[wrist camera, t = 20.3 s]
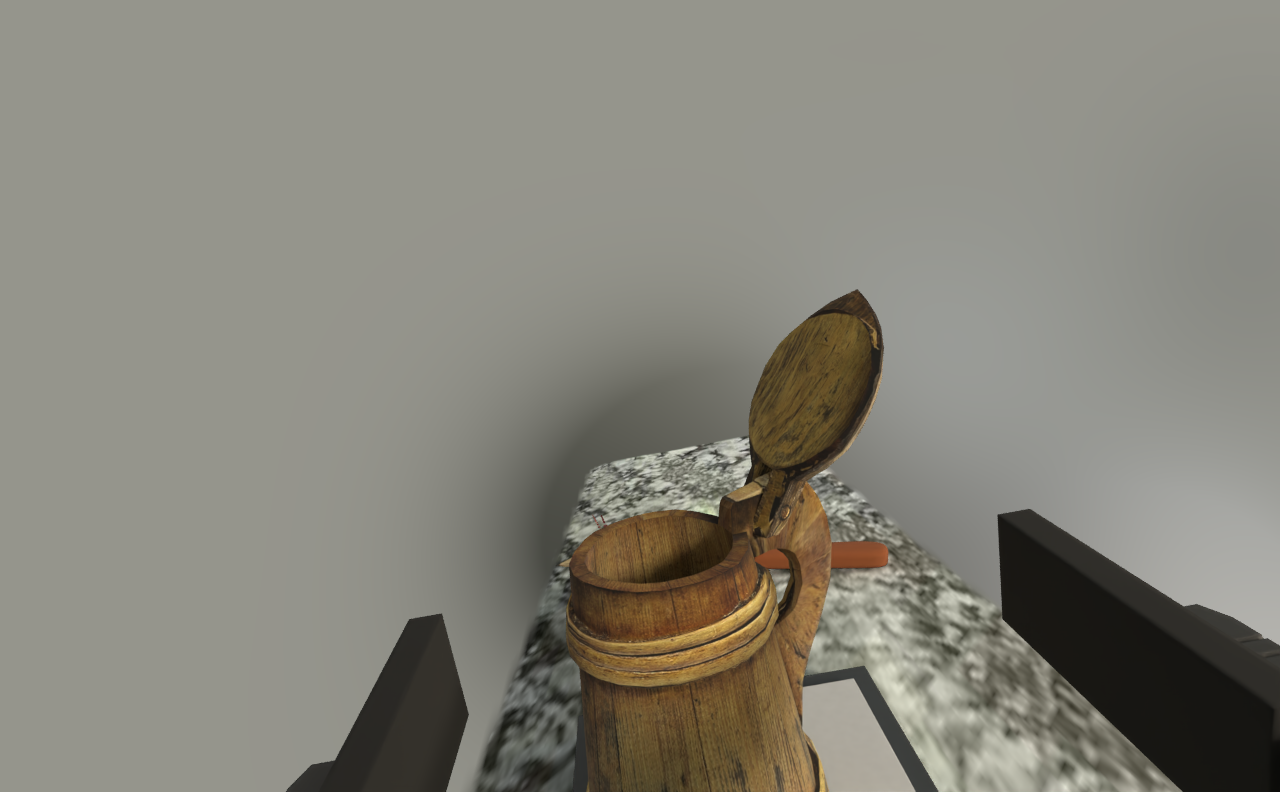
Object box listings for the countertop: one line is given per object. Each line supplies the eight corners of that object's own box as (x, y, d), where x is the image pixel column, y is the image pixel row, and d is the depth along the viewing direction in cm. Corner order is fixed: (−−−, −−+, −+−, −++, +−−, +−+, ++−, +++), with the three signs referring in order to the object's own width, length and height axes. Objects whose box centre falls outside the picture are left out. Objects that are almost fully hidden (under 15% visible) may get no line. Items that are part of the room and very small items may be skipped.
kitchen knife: (884, 537, 46) (890, 552, 44) (884, 555, 46) (890, 570, 44) (658, 541, 49) (654, 555, 47) (660, 558, 49) (656, 572, 47)
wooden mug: (996, 804, 23) (968, 289, 19) (638, 1010, 19) (502, 402, 15) (835, 668, 31) (791, 287, 27) (560, 790, 27) (458, 359, 23)
